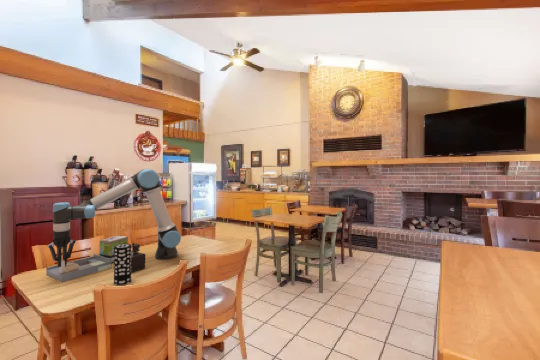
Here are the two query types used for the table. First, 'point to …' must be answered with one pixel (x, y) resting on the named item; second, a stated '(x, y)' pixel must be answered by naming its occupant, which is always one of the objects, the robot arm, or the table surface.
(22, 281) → the table surface
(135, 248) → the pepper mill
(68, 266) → the block
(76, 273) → the track
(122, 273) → the spotted tube
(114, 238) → the tea box
